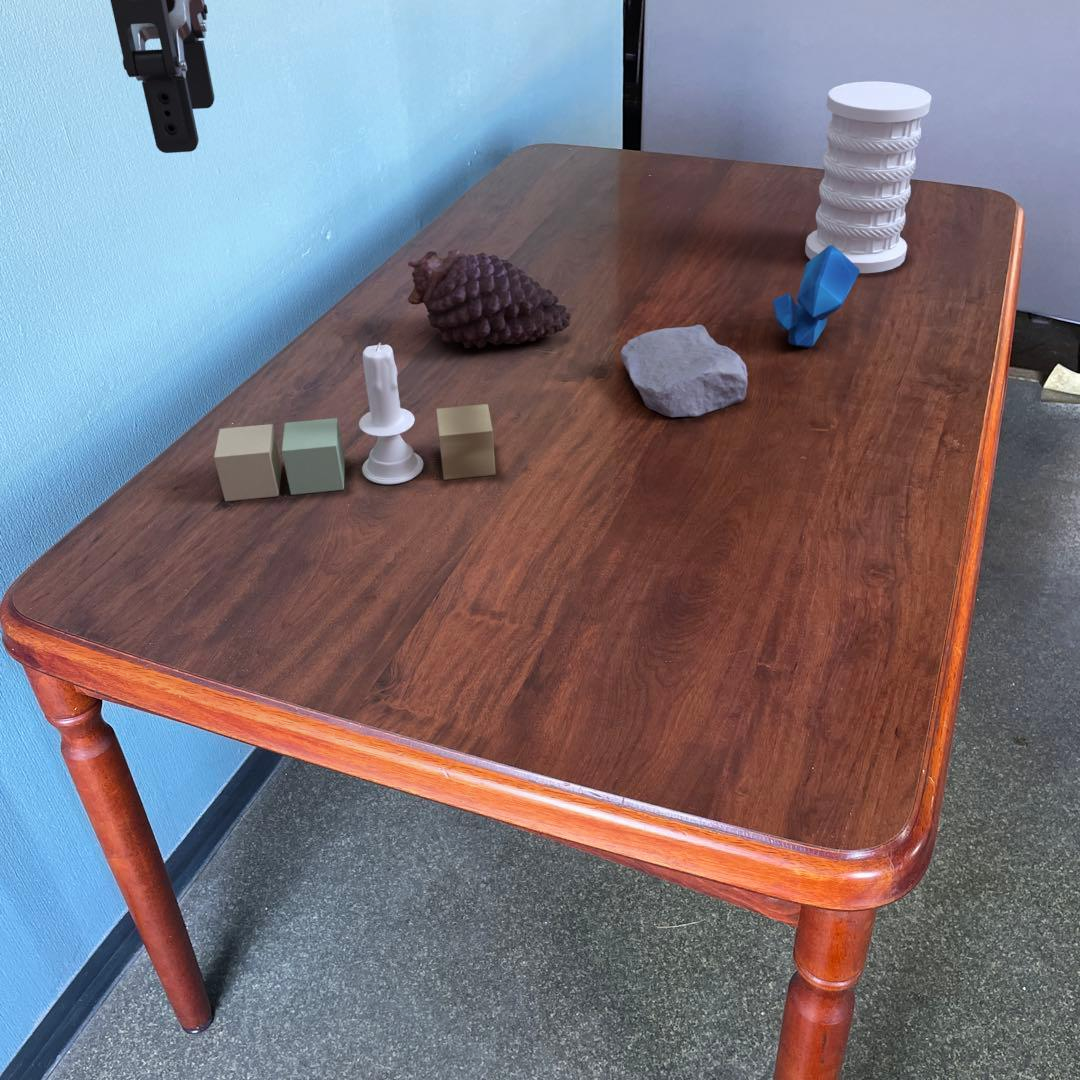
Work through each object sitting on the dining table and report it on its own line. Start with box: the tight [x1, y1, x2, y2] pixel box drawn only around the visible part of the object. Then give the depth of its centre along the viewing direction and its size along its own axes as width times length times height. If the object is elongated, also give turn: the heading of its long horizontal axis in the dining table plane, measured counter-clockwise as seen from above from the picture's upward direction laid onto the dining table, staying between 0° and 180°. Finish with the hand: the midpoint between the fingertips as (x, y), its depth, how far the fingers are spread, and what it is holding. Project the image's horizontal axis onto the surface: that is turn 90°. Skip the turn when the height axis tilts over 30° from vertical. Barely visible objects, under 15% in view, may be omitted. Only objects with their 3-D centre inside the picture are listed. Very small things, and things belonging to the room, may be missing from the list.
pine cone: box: [407, 249, 572, 349], centre depth 110 cm, size 18×10×10 cm
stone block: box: [620, 324, 749, 418], centre depth 103 cm, size 12×5×10 cm
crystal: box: [772, 245, 860, 349], centre depth 109 cm, size 7×9×12 cm
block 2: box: [281, 417, 346, 496], centre depth 92 cm, size 4×4×4 cm
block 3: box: [435, 403, 496, 481], centre depth 93 cm, size 4×4×4 cm
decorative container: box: [804, 80, 933, 274], centre depth 122 cm, size 12×12×18 cm
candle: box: [358, 342, 424, 485], centre depth 90 cm, size 5×5×12 cm
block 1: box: [213, 423, 283, 502], centre depth 91 cm, size 4×4×4 cm
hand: (188, 127), depth 63 cm, fingers open, 8 cm apart
